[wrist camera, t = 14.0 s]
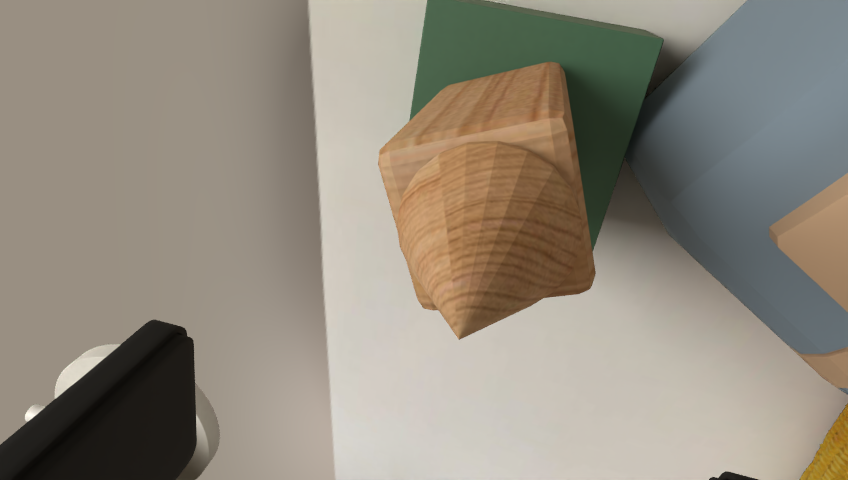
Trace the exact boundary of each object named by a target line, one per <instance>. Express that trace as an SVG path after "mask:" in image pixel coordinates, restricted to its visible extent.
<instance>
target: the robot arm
mask: <svg viewBox="0 0 848 480" xmlns="http://www.w3.org/2000/svg"><path fill="white" fill-rule="evenodd" d="M194 373H195V372H194V344H193V340H192V338H190V337H187V332H186V330H185V328H183V327H181V326H177V325H173V324H169V323H165V322H161V321H157V320H151V321H149V322H148V323H146V324H145V325H144V326H142V327H141V328H140V329H139V330H138V331H136V332H135V333H134V334H133V335H132V336H130V337H129V338H128V339H127V340H126V341H125V342H123V343H122V344H121V345H120V346H119V347H117V348H116V349H115V350H114V351H113V352H111V353H110V354H109V355H108V356H107V357H105V358H104V359H103V360H102V361H101V362H99V363H98V364H97V365H96V366H95V367H93V368H92V369H91V370H90V371H89V372H88V373H86V374H85V375H84V376H83V377H82V378H80V379H79V380H78V381H77V382H76V383H74V384H73V385H72V386H70V387H69V388H68V389H67V390H65V391H64V392H63V393H62V394H61V395H59V396H58V397H57V398H56V399H55V400H53V401H52V402H51V403H50V404H49V405H47V406H42V405H39V404H35V405H33V406H31V407H30V408H29V409H28V411H27V413H26V415H25V420H26V421H27V423H26V424H25V425H24V426H22V427H21V428H20V429H19V430H18V431H16V432H15V433H14V434H13V435H12V436H10V437H9V438H8V439H7V440H6V441H4V442H3V443H2V444H1V445H0V480H176V479H177V477H178V476H179V475H180V473H181V472H182V471H183V469H184V468H185V467H186V465H187V464H188V463H189V461H190V460H191V458H192V456H193V454H194V451H195V448H196V442H197V437H196V405H195V374H194ZM709 480H758V479H754V478H750V477H747V476H743V475H739V474H735V473H731V472H724V473H722V474H721V475H720V477H719V478H715V477H712V478H710V479H709Z"/></svg>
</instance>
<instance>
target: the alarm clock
mask: <svg viewBox="0 0 848 480" xmlns="http://www.w3.org/2000/svg"><path fill="white" fill-rule="evenodd" d="M625 159H626V161H627V162H628V164H629V166H630V168H631V169H632V171H633V173H634V175H635V176H636V178H637V180H638V182H639V183H640V185H641V187H642V189H643V190H644V192H645V194H646V196H647V197H648V199H649V201H650V203H651V205H652V206H653V208H654V210H655V212H656V213H657V215H658V217H659V218H660V220H661V222H662V224H663V225H664V227H665V229H666V230H667V232H668V234H669V235H670V236H671V237H672V238H673V239H674V240H675V241H676V242H677V243H678V244H679V245H680V246H682V247H683V248H684V249H685V250H686V251H687V252H688V253H689V254H690V255H691V256H692V257H693V258H694V259H696V260H697V261H698V262H699V263H700V264H701V265H702V266H703V267H704V268H705V269H706V270H707V271H708V272H710V273H711V274H712V275H713V276H714V277H715V278H716V279H717V280H718V281H719V282H720V283H721V284H722V285H724V286H725V287H726V288H727V289H728V290H729V291H730V292H731V293H732V294H733V295H734V296H735V297H736V298H738V299H739V300H740V301H741V302H742V303H743V304H744V305H745V306H746V307H747V308H748V309H749V310H750V311H752V312H753V313H754V314H755V315H756V316H757V317H758V318H759V319H760V320H761V321H762V322H763V323H764V324H766V325H767V326H768V327H769V328H770V329H771V330H772V331H773V332H774V333H775V334H776V335H777V336H778V337H780V338H781V339H782V340H783V341H784V342H785V343H786V344H787V345H789V346H790V348H791V349H792V350H794V351H795V352H796V353H797V354H798V355H799V356H800V357H801V358H802V359H803V360H804V361H805V362H806V363H808V364H809V365H810V366H811V367H812V368H813V369H814V370H815V371H816V372H817V373H818V374H819V375H820V376H822V377H823V378H824V379H826V380H827V381H828V382H830V383H831V384H833V385H834V386H835V387H837V388H838V389H840V390H841V391H843V392H845V393H846V394H848V0H747V1H746V2H745V3H744V4H743V5H742V6H741V7H740V8H739V9H738V10H737V11H736V12H735V13H734V14H733V15H732V16H731V17H730V18H729V19H728V20H727V21H726V22H725V23H724V24H722V25H721V26H720V27H719V28H718V29H717V30H716V31H715V32H714V33H713V34H712V35H711V36H710V37H709V38H708V39H707V40H706V41H705V42H704V43H703V44H702V45H701V46H700V47H699V48H698V49H697V50H696V51H694V52H693V53H692V54H691V55H690V56H689V57H688V58H687V59H686V60H685V61H684V62H683V63H682V64H681V65H680V66H679V67H678V68H677V69H676V70H675V71H674V72H673V73H672V74H671V75H670V76H669V77H667V78H666V79H665V80H664V81H663V82H662V83H661V84H660V85H659V86H658V87H657V88H656V89H655V90H654V91H653V92H652V93H651V94H650V95H649V96H648V97H647V98H646V99H645V100H644V101H643V104H642V106H641V109H640V112H639V115H638V118H637V121H636V124H635V127H634V130H633V133H632V136H631V139H630V142H629V145H628V148H627V151H626V154H625Z"/></svg>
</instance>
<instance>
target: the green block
mask: <svg viewBox="0 0 848 480" xmlns="http://www.w3.org/2000/svg"><path fill="white" fill-rule="evenodd" d="M663 41H664V39H662V38H660V37H658V36H656V35H654V34H652V33H650V32H648V31H646V30H642V29H636V28H631V27H626V26H620V25H615V24H609V23H604V22H598V21H593V20H588V19H582V18H577V17H571V16H566V15H560V14H555V13H549V12H544V11H539V10H533V9H528V8H522V7H517V6H511V5H506V4H500V3H495V2H490V1H484V0H427V6H426V13H425V20H424V27H423V33H422V40H421V47H420V54H419V60H418V67H417V74H416V81H415V87H414V94H413V101H412V108H411V114H410V120H411V119H412V118H413V117H414V116H415V115H416V114H417V113H419V112H420V111H421V110H422V109H423V108H424V107H425V106H426V105H427V104H428V103H429V102H430V101H431V100H432V99H433V98H434V97H435V96H436V95H437V94H438V93H439V92H440V91H441V90H443V89H444V88H445V87H447V86H448V85H451V84H456V83H460V82H464V81H468V80H473V79H477V78H481V77H486V76H490V75H494V74H498V73H503V72H507V71H511V70H515V69H520V68H524V67H528V66H533V65H537V64H541V63H545V62H555V63H559V64H560V65H561V67H562V68H563V70H564V72H565V77H566V84H567V90H568V96H569V103H570V109H571V115H572V121H573V128H574V134H575V141H576V148H577V154H578V161H579V167H580V174H581V181H582V187H583V194H584V200H585V207H586V213H587V220H588V227H589V233H590V240H591V246H592V251H593V249H594V246H595V243H596V240H597V237H598V234H599V231H600V228H601V225H602V222H603V219H604V216H605V213H606V210H607V207H608V205H609V202H610V199H611V196H612V193H613V190H614V187H615V184H616V181H617V178H618V175H619V172H620V169H621V166H622V163H623V160H624V157H625V154H626V151H627V148H628V145H629V142H630V139H631V136H632V133H633V130H634V127H635V124H636V121H637V118H638V115H639V112H640V109H641V106H642V104H643V101H644V98H645V95H646V92H647V89H648V86H649V83H650V80H651V77H652V74H653V71H654V68H655V65H656V62H657V59H658V56H659V53H660V50H661V47H662V44H663Z"/></svg>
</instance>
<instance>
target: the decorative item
mask: <svg viewBox="0 0 848 480" xmlns="http://www.w3.org/2000/svg"><path fill="white" fill-rule="evenodd" d="M378 165H379V168H380V172H381V175H382V179H383V182H384V186H385V189H386V192H387V196H388V199H389V203H390V206H391V210H392V213H393V217H394V220H395V223H396V227H397V230H398V235H399V243H400V248H401V250H402V252H403V254H404V256H405V259H406V261H407V265H408V268H409V272H410V275H411V279H412V282H413V285H414V289H415V292H416V296H417V298H418V301H419V302H420V304H421V305H422V307H423V308H425V309H429V310H439V311H440V313H441V314H442V316H443V317H444V319H445V320H446V322H447V323H448V324H449V326H450V327H451V329H452V330H453V332H454V333H455V335H456V336H457V337H458V339H462V338H464V337H466V336H468V335H470V334H472V333H474V332H476V331H478V330H481V329H483V328H485V327H487V326H489V325H491V324H493V323H495V322H497V321H500V320H502V319H504V318H506V317H508V316H510V315H512V314H514V313H516V312H519V311H521V310H523V309H525V308H527V307H529V306H531V305H533V304H534V303H536V302H538V301H539V300H541V299H543V298H547V297H556V296H565V295H573V294H580V293H582V292H584V291H587V290H589V289H590V288H591V286H592V283H593V280H594V277H595V274H596V273H595V266H594V260H593V253H592V246H591V240H590V233H589V227H588V220H587V213H586V207H585V200H584V194H583V187H582V181H581V174H580V167H579V161H578V154H577V148H576V141H575V134H574V128H573V121H572V115H571V109H570V103H569V96H568V90H567V84H566V77H565V72H564V70H563V68H562V67H561V65H560V64H559V63H555V62H545V63H541V64H537V65H533V66H528V67H524V68H520V69H515V70H511V71H507V72H503V73H498V74H494V75H490V76H486V77H481V78H477V79H473V80H468V81H464V82H460V83H456V84H451V85H448V86H447V87H445V88H444V89H443V90H441V91H440V92H439V93H438V94H437V95H436V96H435V97H434V98H433V99H432V100H431V101H430V102H429V103H428V104H427V105H426V106H425V107H424V108H423V109H422V110H421V111H420V112H419V113H417V114H416V115H415V116H414V117H413V118H412V119H411V120H410V121H409V122H408V123H407V124H406V125H405V126H404V127H403V128H402V129H401V130H400V131H399V132H398V133H397V134H396V135H395V136H394V137H393V138H392V139H391V140H390V141H389V142H388V143H387V144H385V145H384V146H383V147H382V148H381V149H380V152H379V162H378Z"/></svg>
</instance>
